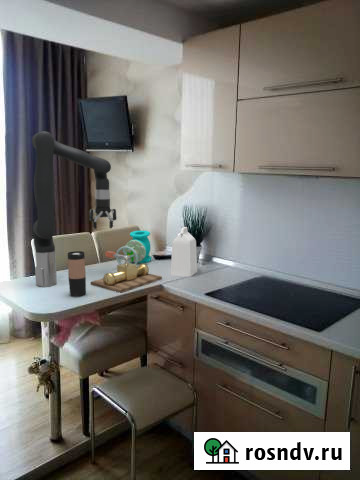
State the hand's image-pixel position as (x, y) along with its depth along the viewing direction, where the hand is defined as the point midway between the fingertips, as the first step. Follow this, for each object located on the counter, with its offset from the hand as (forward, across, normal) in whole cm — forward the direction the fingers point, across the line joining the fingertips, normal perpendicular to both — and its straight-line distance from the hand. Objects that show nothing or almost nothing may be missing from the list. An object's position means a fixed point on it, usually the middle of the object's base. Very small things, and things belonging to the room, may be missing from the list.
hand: (103, 228), depth 209 cm
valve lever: (+15, +4, -11) cm, 19 cm away
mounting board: (+26, +7, -17) cm, 32 cm away
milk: (+26, +42, -16) cm, 52 cm away
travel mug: (+27, -21, -25) cm, 42 cm away
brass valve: (+26, +7, -17) cm, 32 cm away
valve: (+26, +26, +17) cm, 41 cm away
